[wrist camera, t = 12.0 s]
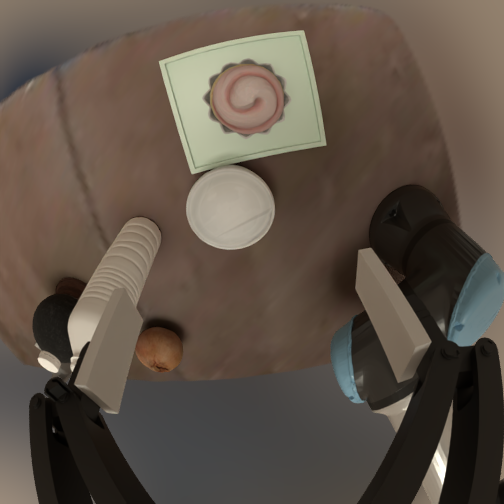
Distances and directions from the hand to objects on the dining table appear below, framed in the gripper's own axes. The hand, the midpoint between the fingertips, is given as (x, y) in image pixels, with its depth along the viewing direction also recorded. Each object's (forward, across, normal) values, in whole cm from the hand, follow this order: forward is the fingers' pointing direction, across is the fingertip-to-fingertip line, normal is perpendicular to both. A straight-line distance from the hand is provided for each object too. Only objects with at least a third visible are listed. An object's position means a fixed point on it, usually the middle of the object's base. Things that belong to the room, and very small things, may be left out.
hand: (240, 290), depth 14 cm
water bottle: (+25, +18, +7) cm, 31 cm away
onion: (+25, +22, +29) cm, 44 cm away
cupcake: (+24, -3, -9) cm, 26 cm away
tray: (+25, -2, -9) cm, 26 cm away
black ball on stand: (+25, +37, +18) cm, 48 cm away
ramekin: (+25, +2, +4) cm, 25 cm away
